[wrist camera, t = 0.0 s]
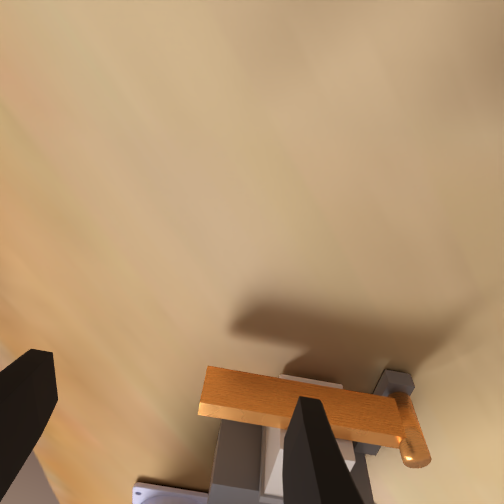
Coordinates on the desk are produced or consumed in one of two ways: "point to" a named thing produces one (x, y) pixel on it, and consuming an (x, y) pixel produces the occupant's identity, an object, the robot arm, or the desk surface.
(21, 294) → the desk surface
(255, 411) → the orange long bar
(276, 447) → the plug
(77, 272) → the desk surface
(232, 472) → the socket block
